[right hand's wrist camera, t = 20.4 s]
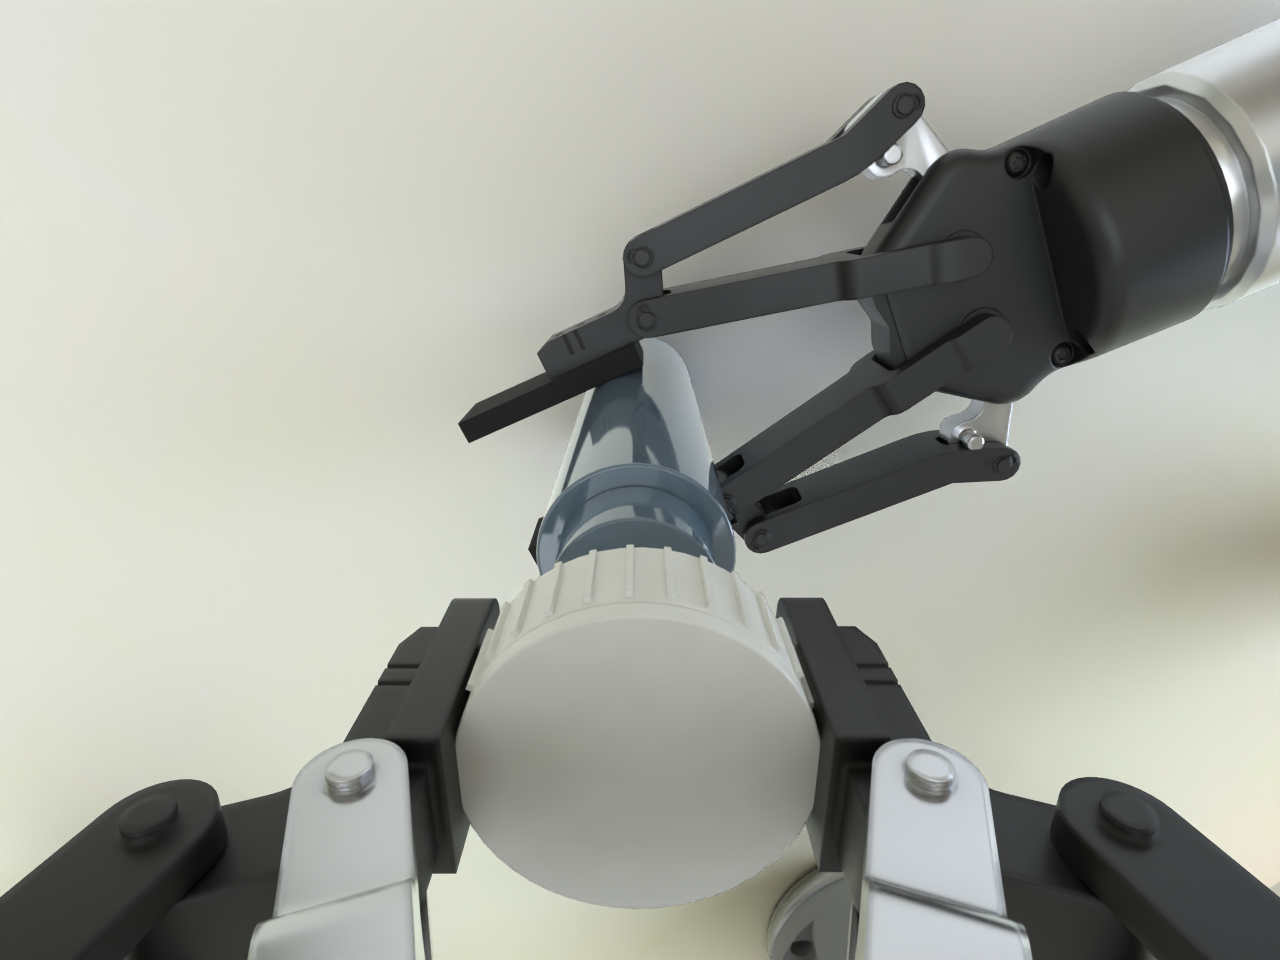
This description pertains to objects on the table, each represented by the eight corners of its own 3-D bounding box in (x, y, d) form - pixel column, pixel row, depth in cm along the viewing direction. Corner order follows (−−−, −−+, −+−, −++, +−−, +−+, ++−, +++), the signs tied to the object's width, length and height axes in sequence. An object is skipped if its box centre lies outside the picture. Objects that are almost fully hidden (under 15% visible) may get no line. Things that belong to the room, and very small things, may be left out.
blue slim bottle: (597, 436, 32) (539, 698, 14) (585, 339, 30) (506, 504, 13) (693, 428, 32) (751, 682, 14) (686, 330, 30) (742, 485, 13)
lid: (863, 639, 11) (908, 725, 9) (685, 849, 12) (694, 959, 10) (579, 480, 10) (565, 539, 8) (425, 727, 11) (384, 825, 10)
